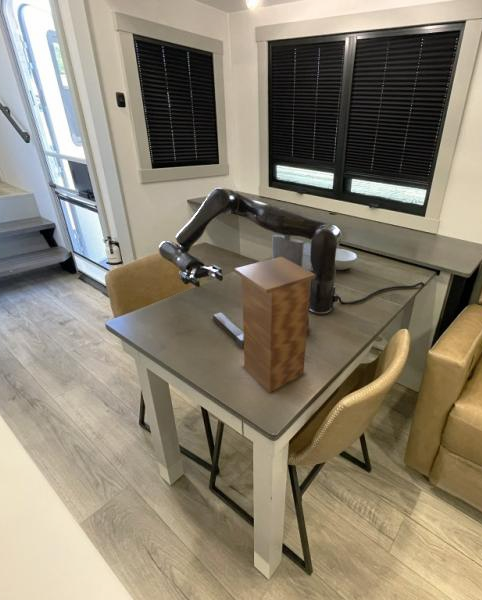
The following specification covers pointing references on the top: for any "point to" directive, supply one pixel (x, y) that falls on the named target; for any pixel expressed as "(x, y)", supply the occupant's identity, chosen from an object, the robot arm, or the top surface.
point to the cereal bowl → (344, 259)
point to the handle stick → (230, 328)
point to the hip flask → (288, 248)
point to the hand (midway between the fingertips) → (210, 281)
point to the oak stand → (275, 319)
